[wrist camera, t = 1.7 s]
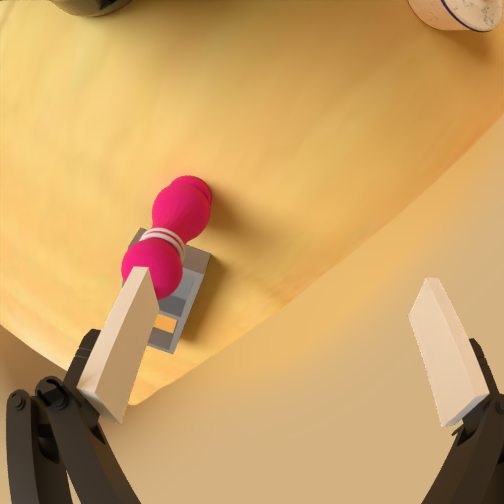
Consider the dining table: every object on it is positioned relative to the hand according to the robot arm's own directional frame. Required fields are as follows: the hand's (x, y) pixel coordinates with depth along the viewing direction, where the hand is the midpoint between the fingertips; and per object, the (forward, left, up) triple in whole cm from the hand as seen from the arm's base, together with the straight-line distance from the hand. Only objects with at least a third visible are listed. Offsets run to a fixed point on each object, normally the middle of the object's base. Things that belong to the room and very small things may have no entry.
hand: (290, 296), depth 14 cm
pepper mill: (-8, -12, -27) cm, 31 cm away
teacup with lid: (+9, +29, -27) cm, 41 cm away
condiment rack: (-8, -31, -27) cm, 42 cm away
